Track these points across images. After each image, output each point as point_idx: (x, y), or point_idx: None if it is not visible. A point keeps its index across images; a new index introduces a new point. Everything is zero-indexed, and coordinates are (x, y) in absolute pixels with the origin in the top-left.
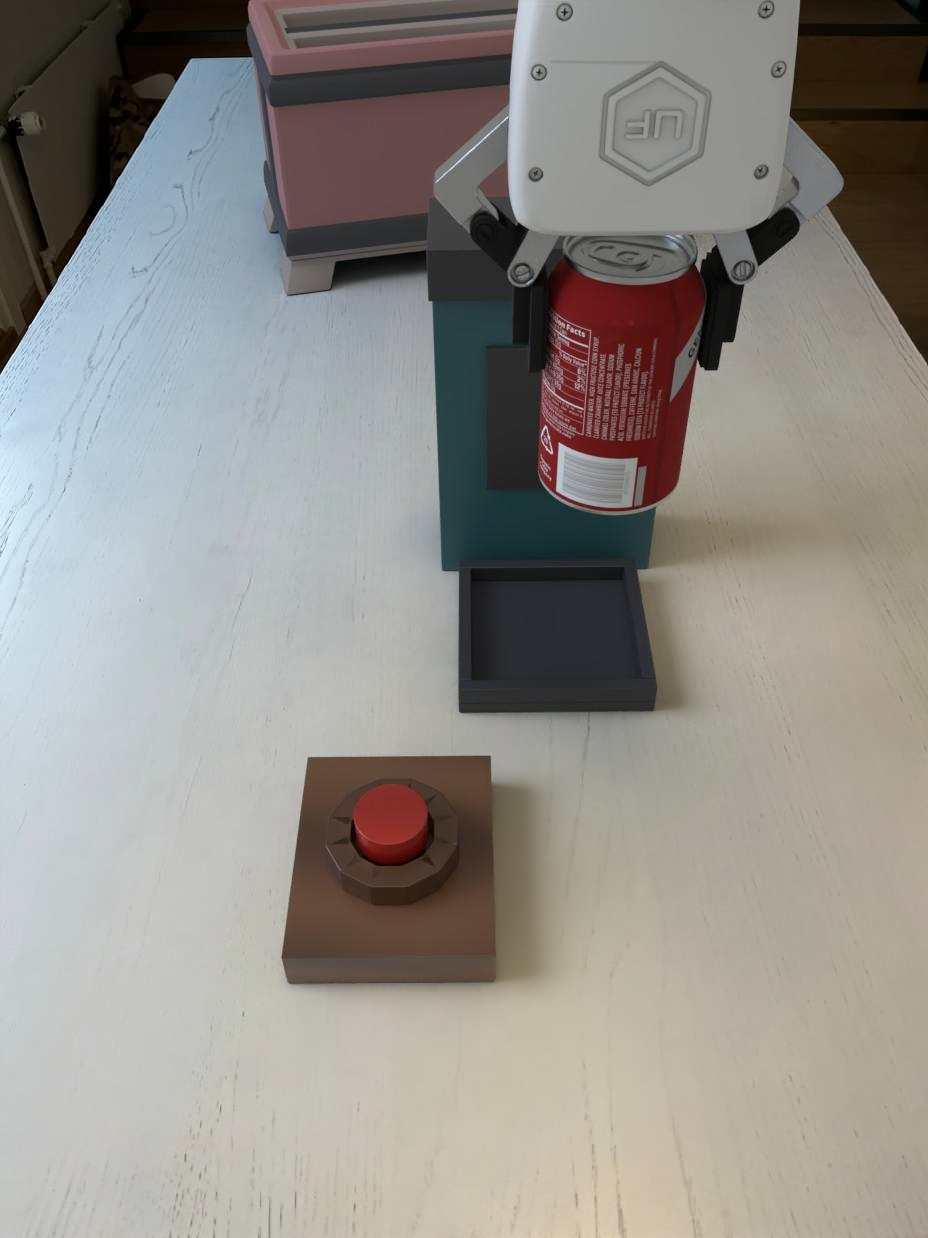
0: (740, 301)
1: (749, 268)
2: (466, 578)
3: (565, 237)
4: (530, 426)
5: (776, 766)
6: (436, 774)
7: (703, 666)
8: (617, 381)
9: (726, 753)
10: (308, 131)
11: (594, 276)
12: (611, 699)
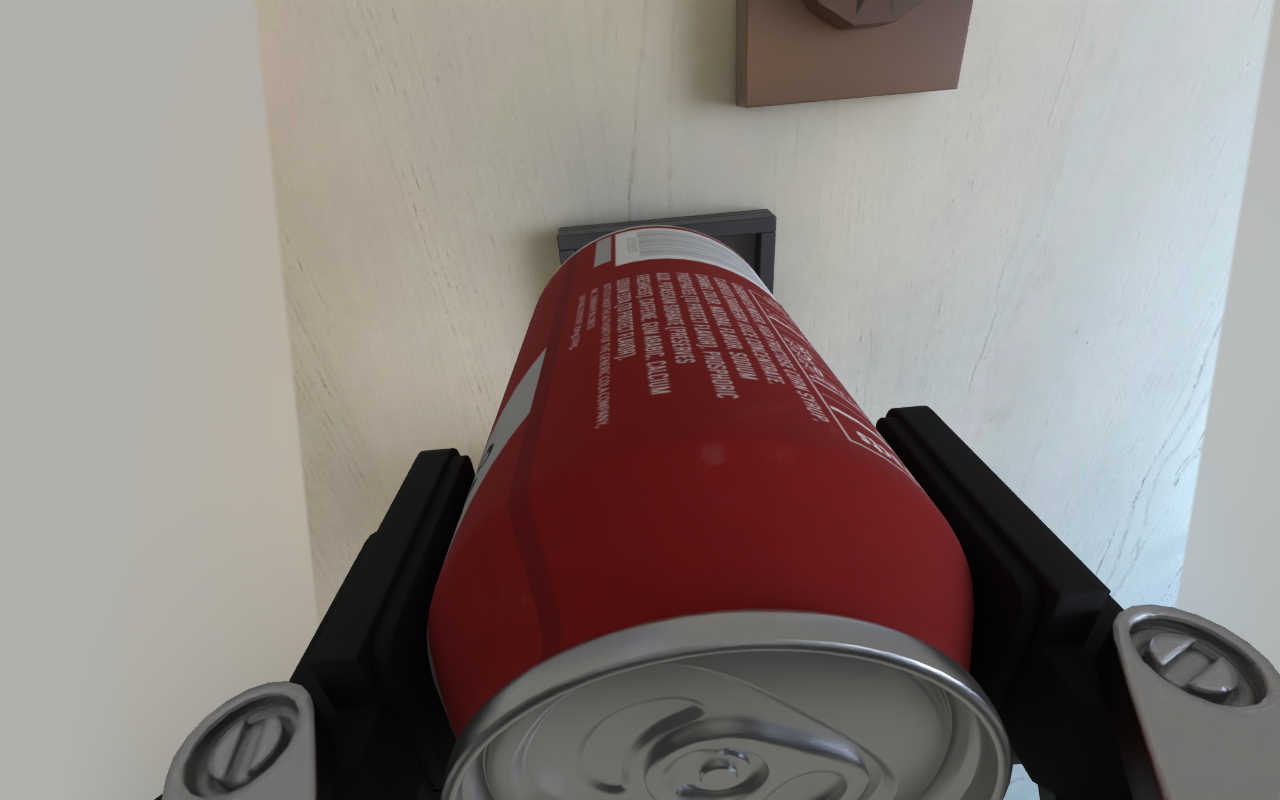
0: (319, 631)
1: (212, 753)
2: None
3: None
4: None
5: (425, 155)
6: (810, 70)
7: (509, 295)
8: (705, 335)
9: (480, 171)
10: None
11: (921, 648)
12: (606, 227)
